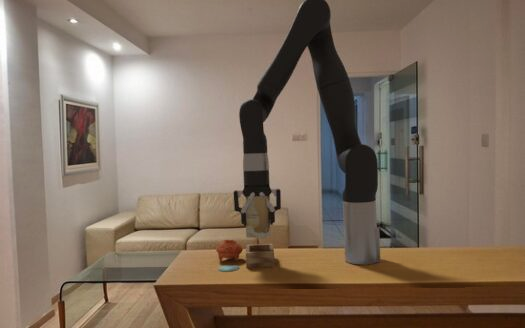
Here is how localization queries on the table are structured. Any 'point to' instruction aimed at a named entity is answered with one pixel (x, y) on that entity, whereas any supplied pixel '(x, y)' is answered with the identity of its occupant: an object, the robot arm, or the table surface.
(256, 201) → the skincare box
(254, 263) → the open wooden box
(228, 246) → the pot
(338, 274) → the table surface
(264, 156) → the robot arm
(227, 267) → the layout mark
